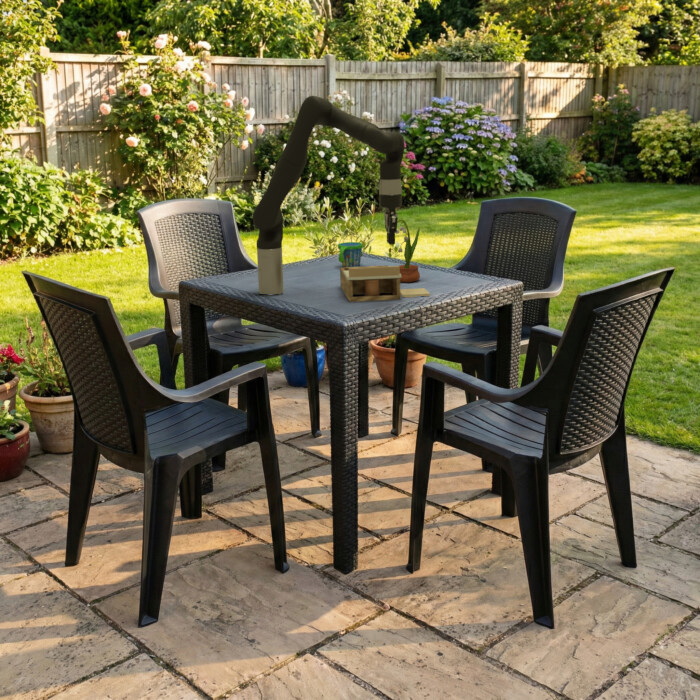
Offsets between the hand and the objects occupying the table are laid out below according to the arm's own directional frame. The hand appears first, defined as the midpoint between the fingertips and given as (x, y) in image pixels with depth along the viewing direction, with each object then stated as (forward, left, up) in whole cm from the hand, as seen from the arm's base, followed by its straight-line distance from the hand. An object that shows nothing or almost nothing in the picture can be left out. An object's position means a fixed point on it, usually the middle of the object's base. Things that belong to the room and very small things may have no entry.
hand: (391, 243), depth 301 cm
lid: (-5, +12, -13) cm, 19 cm away
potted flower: (+12, +39, -21) cm, 46 cm away
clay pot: (-5, +13, -21) cm, 25 cm away
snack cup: (-5, +75, -21) cm, 78 cm away
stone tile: (+10, +14, -21) cm, 27 cm away
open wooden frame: (-5, +20, -21) cm, 29 cm away
